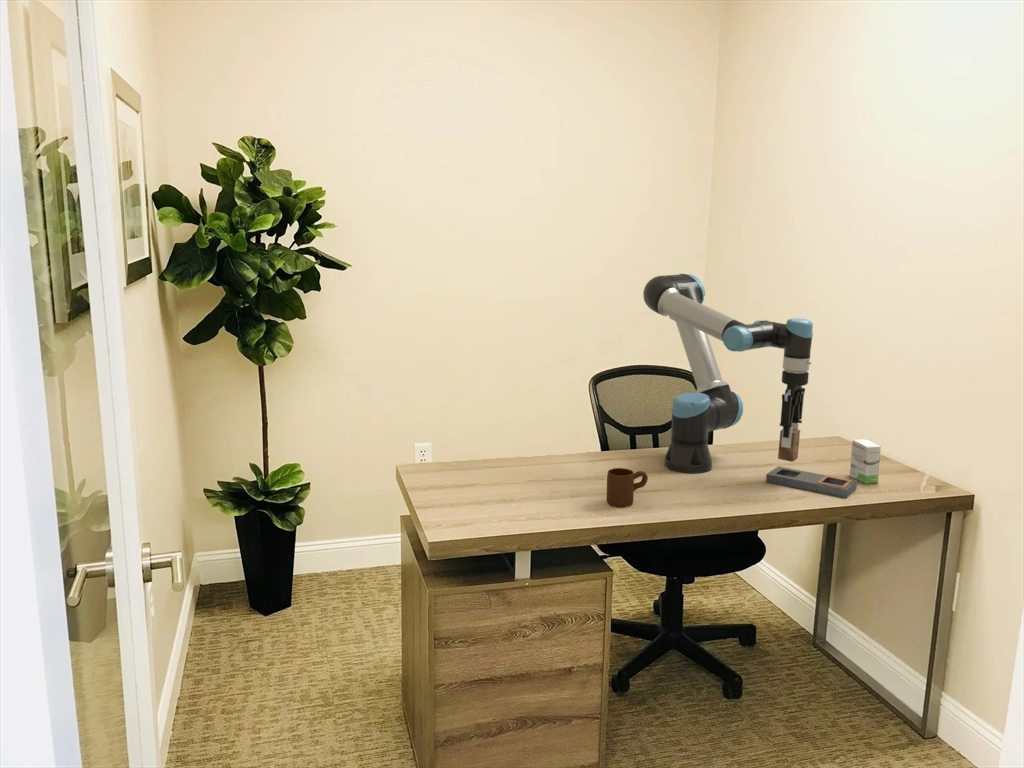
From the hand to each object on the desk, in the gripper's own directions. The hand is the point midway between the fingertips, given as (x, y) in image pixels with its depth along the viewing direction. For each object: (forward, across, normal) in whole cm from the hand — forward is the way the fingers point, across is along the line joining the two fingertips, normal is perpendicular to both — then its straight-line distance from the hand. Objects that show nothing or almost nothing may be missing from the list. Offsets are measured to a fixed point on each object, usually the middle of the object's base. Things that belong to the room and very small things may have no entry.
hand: (788, 445), depth 260 cm
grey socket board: (+11, 0, -8) cm, 14 cm away
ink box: (+11, +16, -19) cm, 27 cm away
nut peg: (+4, 0, 0) cm, 4 cm away
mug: (+12, -47, +29) cm, 57 cm away
